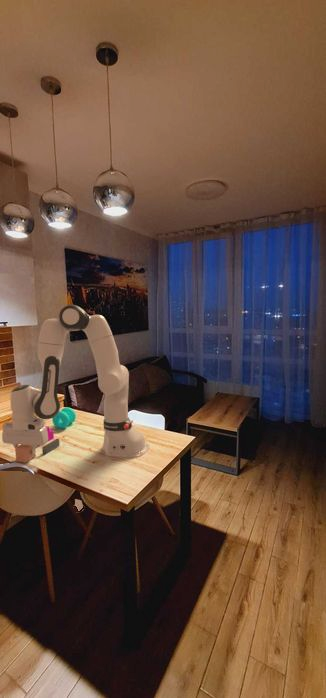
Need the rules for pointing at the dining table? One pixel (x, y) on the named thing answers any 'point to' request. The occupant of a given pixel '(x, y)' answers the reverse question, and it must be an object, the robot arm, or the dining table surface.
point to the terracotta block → (24, 453)
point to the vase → (78, 504)
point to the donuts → (64, 418)
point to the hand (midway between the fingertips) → (26, 453)
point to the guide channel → (50, 446)
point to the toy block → (50, 433)
